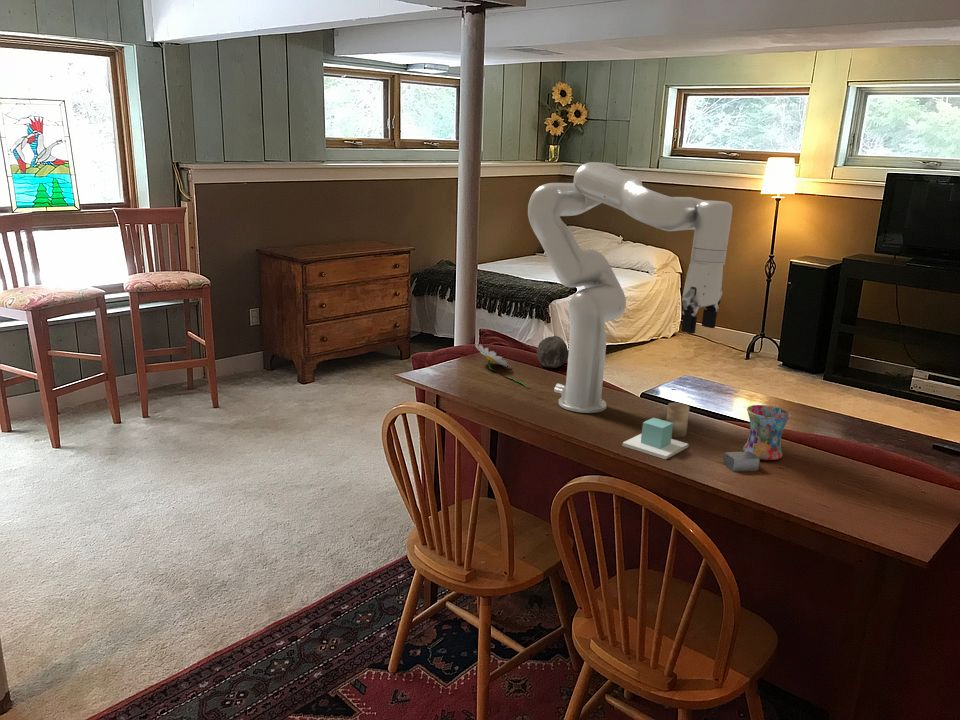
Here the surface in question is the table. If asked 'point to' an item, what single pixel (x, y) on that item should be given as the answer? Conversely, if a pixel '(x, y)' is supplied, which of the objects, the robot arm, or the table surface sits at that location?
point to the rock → (552, 352)
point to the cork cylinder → (678, 418)
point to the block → (656, 433)
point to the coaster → (661, 453)
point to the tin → (741, 461)
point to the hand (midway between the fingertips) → (698, 329)
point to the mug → (766, 431)
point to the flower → (493, 358)
